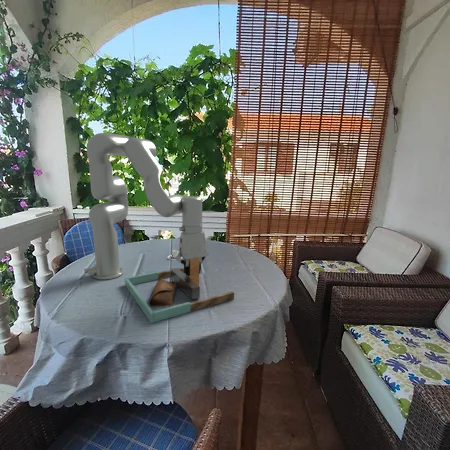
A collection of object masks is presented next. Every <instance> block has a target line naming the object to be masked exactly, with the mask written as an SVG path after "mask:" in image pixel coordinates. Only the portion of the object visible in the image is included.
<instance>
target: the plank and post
mask: <svg viewBox="0 0 450 450" xmlns="http://www.w3.org/2000/svg"><path fill="white" fill-rule="evenodd" d="M189 267H190V275H189V276H187V275H186V274H184V273H183V272H182V271H181V270H179V269H178V267H176V268H171V269H170V270H171V277H170V280H171V281H172V283H174V284H177V285H178V286H177V287H178V288H179V289H181V291H183V292H184V293H185V294H186V296H188V297H189V298H190V299H191V300H192V301H193V300H197V299H200V297H201V295H200V294H201V290H200V289H201V287H200V274H199V258H196V259H190V260H189Z"/></svg>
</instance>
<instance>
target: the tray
mask: <svg viewBox="0 0 450 450" xmlns="http://www.w3.org/2000/svg"><path fill="white" fill-rule="evenodd" d="M156 280H157V281H158V280H159V279H158V271H154V272H148V273H144V274H139V275H133V276H127V277H124V285H125V287H126V288H127V290H128V291H129V293H130V294H131V295H132V297H133V298H134V300H135V301H136V304H138V305H139V307H140V308H141V310H142V311H143V313H144V314H145V315H146V317H147V318H148V320H149V321H150V323H152V324H153V323H156V322H159V321H163V320H166V319H169V318H174V317H177V316H180V315H183V314H186V313H189V312H190V313H191V311H190V303H191V302H189V301H187V302H184V303H180V304H176V305H173V306H167V307H166V308H165V307H164V308H162V309H158V310H154V311H153V309H152V308H151V307H150V305H149V304H148V303H147V301H145V299H144V297H143V296H142V295H141V293H139V291H138V290H137V288H136V287H135V286H134V285H137V284H142V283H147V282H151V281H156Z"/></svg>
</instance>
